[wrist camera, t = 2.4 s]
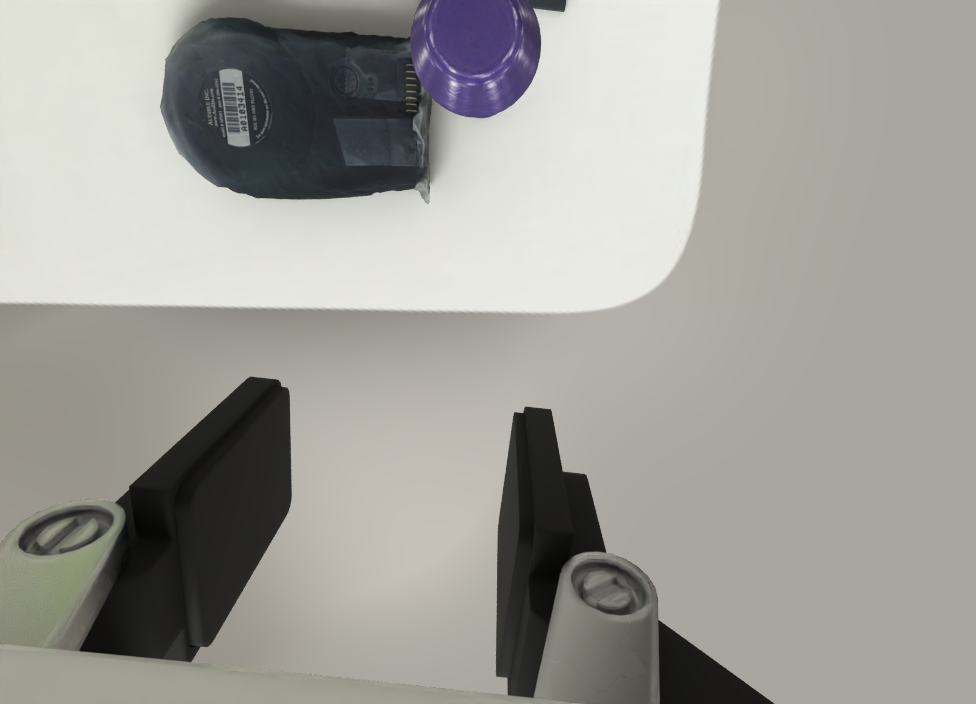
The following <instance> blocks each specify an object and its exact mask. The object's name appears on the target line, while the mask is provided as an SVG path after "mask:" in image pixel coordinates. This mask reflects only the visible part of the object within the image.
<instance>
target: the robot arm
mask: <svg viewBox="0 0 976 704" xmlns="http://www.w3.org/2000/svg"><path fill="white" fill-rule="evenodd" d="M289 398H290V396H289V390H288V388H285V387H281V383H280V382H279V380H276V379H267V378H257V377H249V378H247V379H246V380H245V381H244V382H243V383H242V384H241V385H240V386H239V387H238V388H236V389H235V390H234V391H233V392H232V393H231V394H230V395H229V396H228V397H227V398H226V399H224V400H223V401H222V402H221V403H220V404H219V405H218V406H217V407H216V408H215V409H213V410H212V411H211V412H210V413H209V414H208V415H207V416H206V417H205V418H204V419H203V420H201V421H200V422H199V423H198V424H197V425H196V426H195V427H194V428H193V429H192V430H190V432H188V433H187V434H186V435H185V436H184V437H183V438H182V439H181V440H180V441H178V442H177V443H176V444H175V445H174V446H173V447H172V448H171V449H170V450H169V451H168V452H166V453H165V454H164V455H163V456H162V457H161V458H160V459H159V460H158V461H157V462H155V463H154V464H153V465H152V466H151V467H150V468H149V469H148V470H147V471H146V472H145V473H143V474H142V475H141V476H140V477H139V478H138V479H137V480H136V481H135V482H134V483H133V484H131V485H130V486H129V490H128V491H127V492H126V493H125V494H124V495H123V496H122V497H121V498H120V499H119V500H117V501H116V502H115V503H114V502H110V501H107V500H99V499H84V500H77V501H70V502H66V503H62V504H58V505H55V506H52V507H49V508H47V509H44V510H42V511H39V512H37V513H35V514H33V515H32V516H30V517H28V518H27V519H25V520H23V521H21V522H20V523H19V524H18V525H17V526H16V527H15V528H14V529H12V530H11V531H10V532H9V534H8V535H7V536H6V537H5V538H4V539H3V540H2V542H1V543H0V704H774V703H773V702H771V701H770V700H768V699H767V698H766V697H764V696H763V695H761V694H760V693H759V692H757V691H756V690H755V689H753V688H752V687H750V686H749V685H748V684H746V683H745V682H744V681H742V680H741V679H739V678H738V677H736V676H735V675H734V674H733V673H731V672H730V671H728V670H727V669H726V668H724V667H723V666H721V665H720V664H719V663H717V662H716V661H714V660H713V659H712V658H710V657H709V656H708V655H706V654H705V653H703V652H702V651H701V650H699V649H698V648H697V647H695V646H694V645H692V644H691V643H690V642H688V641H687V640H686V639H684V638H683V637H681V636H680V635H679V634H677V633H676V632H675V631H673V630H672V629H670V628H669V627H668V626H666V625H665V624H663V623H662V622H661V621H659V620H658V597H657V593H656V589H655V586H654V585H653V583H652V582H651V580H650V578H649V577H648V576H647V575H646V574H645V573H644V572H643V571H642V570H641V569H640V568H639V567H637V566H636V565H634V564H633V563H631V562H629V561H628V560H626V559H624V558H621V557H618V556H616V555H613V554H609V553H606V549H605V545H604V541H603V538H602V534H601V530H600V526H599V522H598V518H597V514H596V510H595V506H594V502H593V498H592V495H591V490H590V487H589V482H588V479H587V476H586V475H585V474H579V473H570V472H563V471H562V465H561V460H560V455H559V449H558V443H557V438H556V433H555V427H554V422H553V416H552V411H551V409H543V408H533V407H525V408H524V412H523V413H517V412H515V413H514V416H513V423H512V430H511V438H510V445H509V451H508V459H507V466H506V474H505V481H504V487H503V495H502V502H501V509H500V516H499V525H498V554H497V632H496V633H497V634H496V635H497V637H496V638H497V639H496V676H497V677H506V678H508V695H500V694H491V693H481V692H471V691H462V690H453V689H444V688H435V687H426V686H417V685H407V684H398V683H389V682H388V683H387V682H379V681H370V680H361V679H351V678H341V677H331V676H322V675H312V674H302V673H291V672H282V671H272V670H262V669H253V668H243V667H233V666H223V665H213V664H203V663H193V662H191V661H192V660H193V658H194V657H195V655H196V653H197V652H198V650H199V648H200V647H208V646H209V645H210V644H211V643H212V642H213V640H214V639H215V637H216V635H217V634H218V632H219V630H220V628H221V627H222V625H223V623H224V622H225V620H226V618H227V616H228V615H229V613H230V611H231V609H232V608H233V606H234V604H235V603H236V601H237V599H238V597H239V596H240V594H241V592H242V591H243V589H244V587H245V586H246V584H247V582H248V580H249V579H250V577H251V575H252V574H253V572H254V570H255V568H256V567H257V565H258V563H259V562H260V560H261V558H262V557H263V555H264V553H265V551H266V550H267V548H268V546H269V545H270V543H271V541H272V539H273V538H274V536H275V534H276V533H277V531H278V529H279V527H280V526H281V524H282V522H283V521H284V519H285V517H286V515H287V513H288V511H289V508H290V504H291V497H292V492H291V491H292V490H291V442H290V399H289Z"/></svg>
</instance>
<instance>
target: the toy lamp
mask: <svg viewBox="0 0 976 704" xmlns="http://www.w3.org/2000/svg"><path fill="white" fill-rule="evenodd" d="M410 48H411V56H412V62H413V66H414V69H415V72H416V74H417V76H418V79H419V80H420V82H421V84H422V86H423V87H424V89H425V90H426V92H427V93H428V94H429V95H430V96H431V97H432V98H433V99H434V100H435V101H436V102H437V103H439V104H440V105H441V106H443V107H444V108H446V109H447V110H449V111H451V112H453V113H456V114H459V115H462V116H466V117H476V118H486V117H491V116H493V115H495V114H497V113H499V112H501V111H503V110H505V109H507V108H508V107H510V106H511V105H513V104H514V103H515V102H516V101H517V100H518V99H519V98H520V97H521V96H522V95H523V93H524V92H525V91H526V90H527V88H528V87H529V85H530V84H531V82H532V80H533V78H534V76H535V73H536V70H537V67H538V63H539V59H540V51H541V35H540V28H539V23H538V20H537V17H536V14H535V12H534V10H533V7H532V5H531V3H530V2H529V0H422V1H421V2H420V4H419V6H418V9H417V11H416V13H415V16H414V19H413V24H412V28H411V37H410Z"/></svg>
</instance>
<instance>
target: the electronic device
mask: <svg viewBox="0 0 976 704" xmlns="http://www.w3.org/2000/svg"><path fill="white" fill-rule="evenodd" d="M165 60H166V64H165V78H164V84H163V96H162V101H161V106H160V108H161V112H162V115H163V118H164V121H165V124H166V126H167V129H168V132H169V134H170V137H171V139H172V141H173V143H174V145H175V147H176V149H177V151H178V153H179V154H180V155H181V156H183V157H184V158H185V159H186V160H187V161H188V162H189V163H190V164H191V165H192V166H193V167H194V169H195V170H196V171H197V172H198V173H199V174H201V175H202V176H203V177H204V178H205V179H207V180H208V181H210V182H211V183H213V184H214V185H216V186H217V187H227V188H229V189H230V190H232V191H234V192H237V193H242V194H247V195H250V196H253V197H255V198H273V199H332V198H346V197H357V196H368V195H372V194H373V193H375V192H379V193H381V192H385V191H391V190H393V191H403V190H409V189H414V188H415V190H419V192H420V194H421V196H422V198H423V199H424V201H425V202H426V203H427V204H429V199H430V197H429V193H430V186H429V154H428V140H429V136H428V130H429V121H430V115H431V105H432V98H431V96H430V95H429V94H428V93H427V92H426V90H425V89H424V87H423V86H422V84H421V82H420V80H419V79H418V76H417V74H416V72H415V69H414V66H413V62H412V56H411V48H410V37H409V38H407V39H405V38H395V37H391V36H377V35H358V34H356V33H354V32H343V33H334V32H330V33H329V32H318V31H305V30H293V29H278V28H271V27H265V26H263V25H261V24H260V23H257V22H254V21H251V20H249V19H244V18H217V19H213V18H212V19H208V20H207V21H202V22H201V23H199V24H198V25H197V26H195V27H194V28H192V29H191V30H190V31H188V32H187V33H185V34H184V35H183V36H182V37H181V38H180V39H179V40H178V41H177V43H176V44H175V45H174V46H173V48H172V50H171V52H170V54H169V56H168V57H167V58H166V59H165Z"/></svg>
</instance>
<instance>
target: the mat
mask: <svg viewBox="0 0 976 704" xmlns="http://www.w3.org/2000/svg"><path fill="white" fill-rule="evenodd" d="M529 2H530V3H531V5H532V7H533V8H536V9H544V10H552V11H561V12H564V10H565V5H566V0H529Z"/></svg>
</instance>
